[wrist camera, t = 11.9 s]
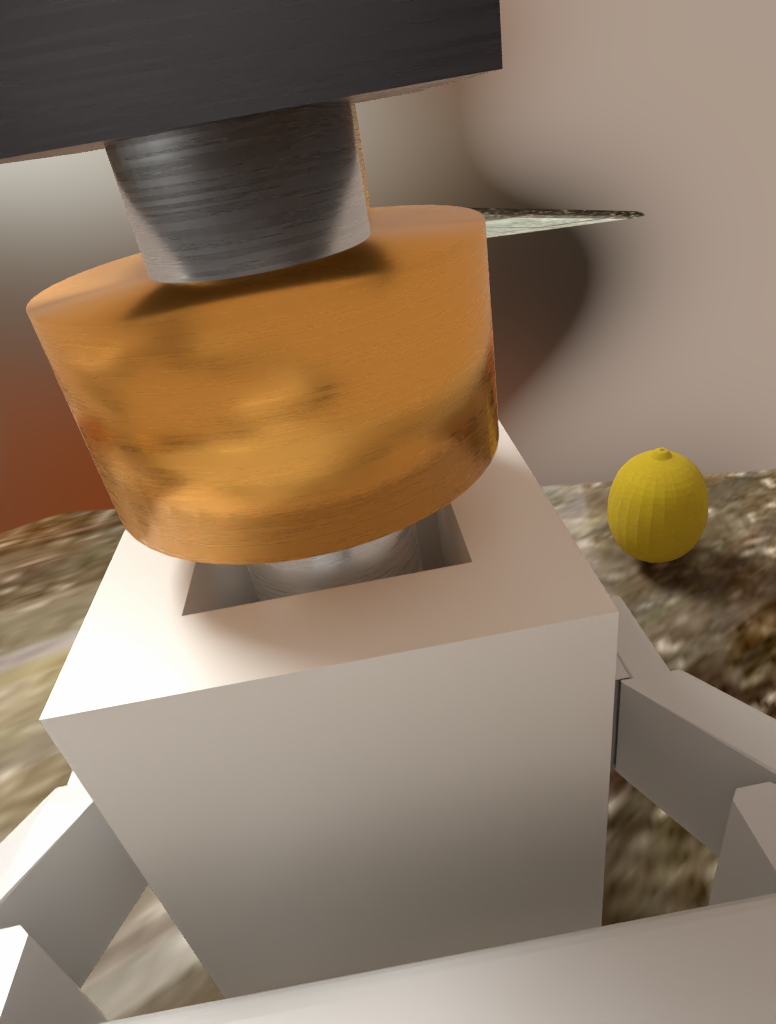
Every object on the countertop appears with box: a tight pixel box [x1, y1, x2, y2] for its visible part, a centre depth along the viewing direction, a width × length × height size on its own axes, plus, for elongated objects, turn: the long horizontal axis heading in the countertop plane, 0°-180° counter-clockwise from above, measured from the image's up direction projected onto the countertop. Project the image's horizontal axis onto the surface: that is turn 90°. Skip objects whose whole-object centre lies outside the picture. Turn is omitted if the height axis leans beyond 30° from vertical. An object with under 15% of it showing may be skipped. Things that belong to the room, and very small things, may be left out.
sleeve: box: [39, 420, 619, 999], centre depth 9 cm, size 5×5×8 cm
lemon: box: [608, 448, 708, 564], centre depth 38 cm, size 6×6×8 cm
